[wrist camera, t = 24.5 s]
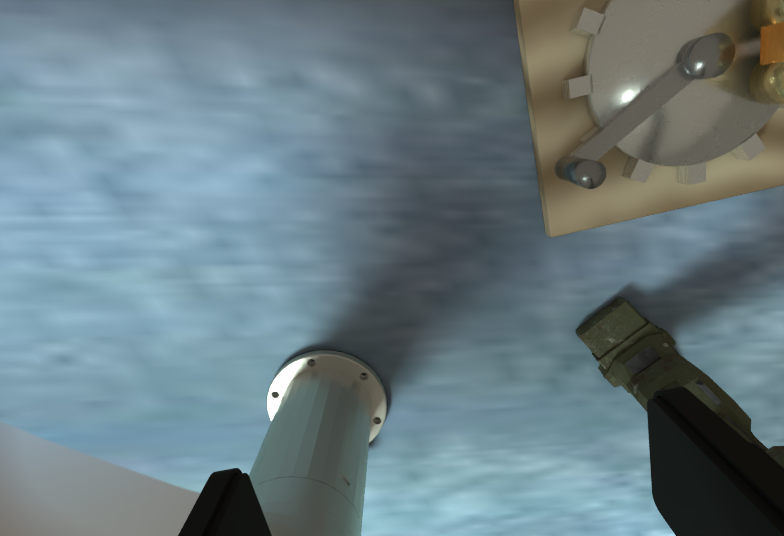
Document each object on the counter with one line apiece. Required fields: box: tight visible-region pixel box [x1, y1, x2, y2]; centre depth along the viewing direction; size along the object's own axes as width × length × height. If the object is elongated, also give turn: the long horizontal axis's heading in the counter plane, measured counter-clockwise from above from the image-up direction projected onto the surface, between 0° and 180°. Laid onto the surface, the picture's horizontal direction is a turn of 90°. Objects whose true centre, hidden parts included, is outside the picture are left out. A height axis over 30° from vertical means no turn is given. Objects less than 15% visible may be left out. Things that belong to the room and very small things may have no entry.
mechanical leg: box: [576, 297, 784, 468], centre depth 32 cm, size 14×7×30 cm, turn 44°
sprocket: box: [555, 0, 784, 189], centre depth 32 cm, size 19×21×6 cm
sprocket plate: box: [513, 0, 784, 237], centre depth 36 cm, size 24×24×2 cm
